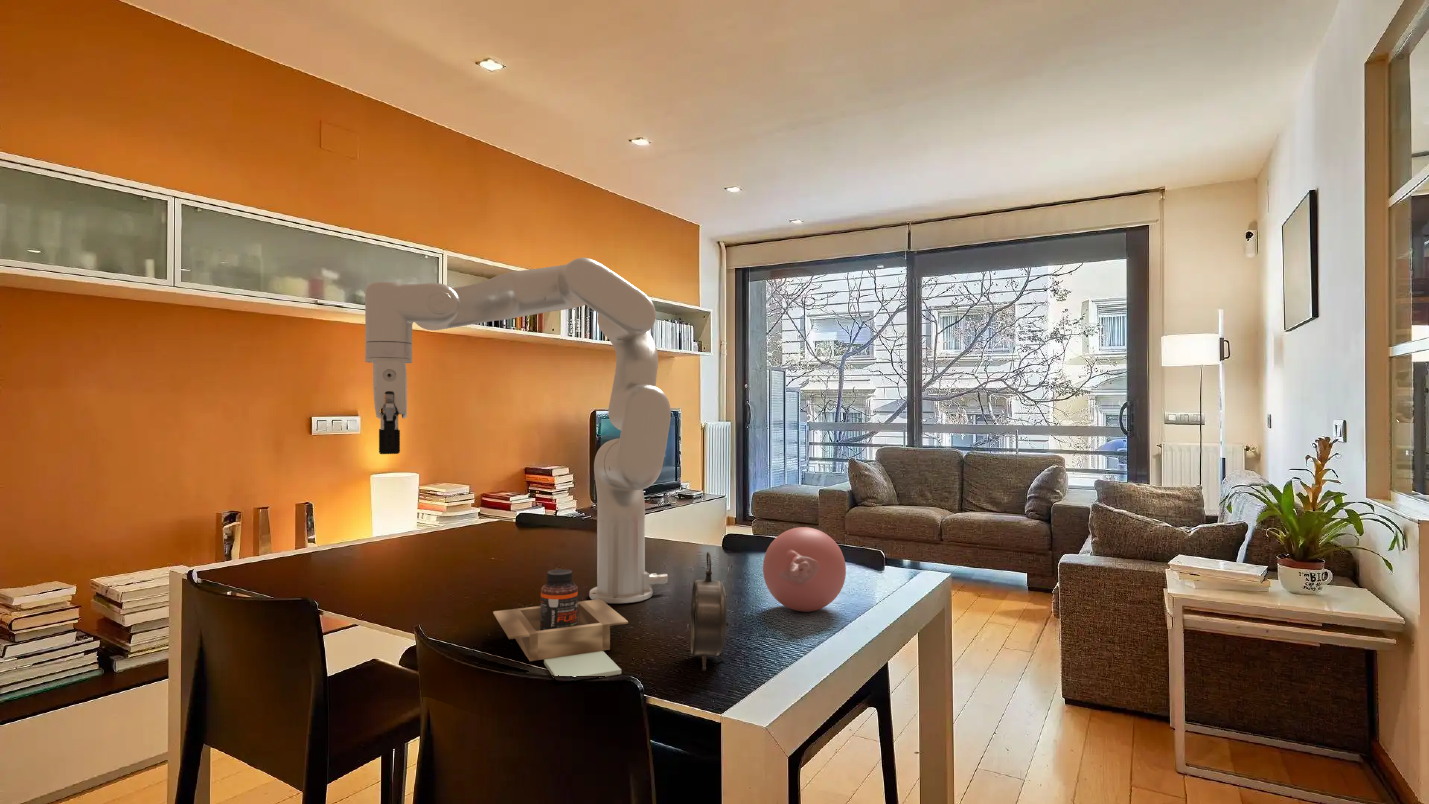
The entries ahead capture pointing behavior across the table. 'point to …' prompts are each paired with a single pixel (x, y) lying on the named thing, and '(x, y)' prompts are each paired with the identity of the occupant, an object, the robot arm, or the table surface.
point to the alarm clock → (708, 617)
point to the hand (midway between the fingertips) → (389, 452)
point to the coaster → (583, 665)
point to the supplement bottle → (559, 601)
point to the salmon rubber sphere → (804, 569)
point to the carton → (561, 630)
